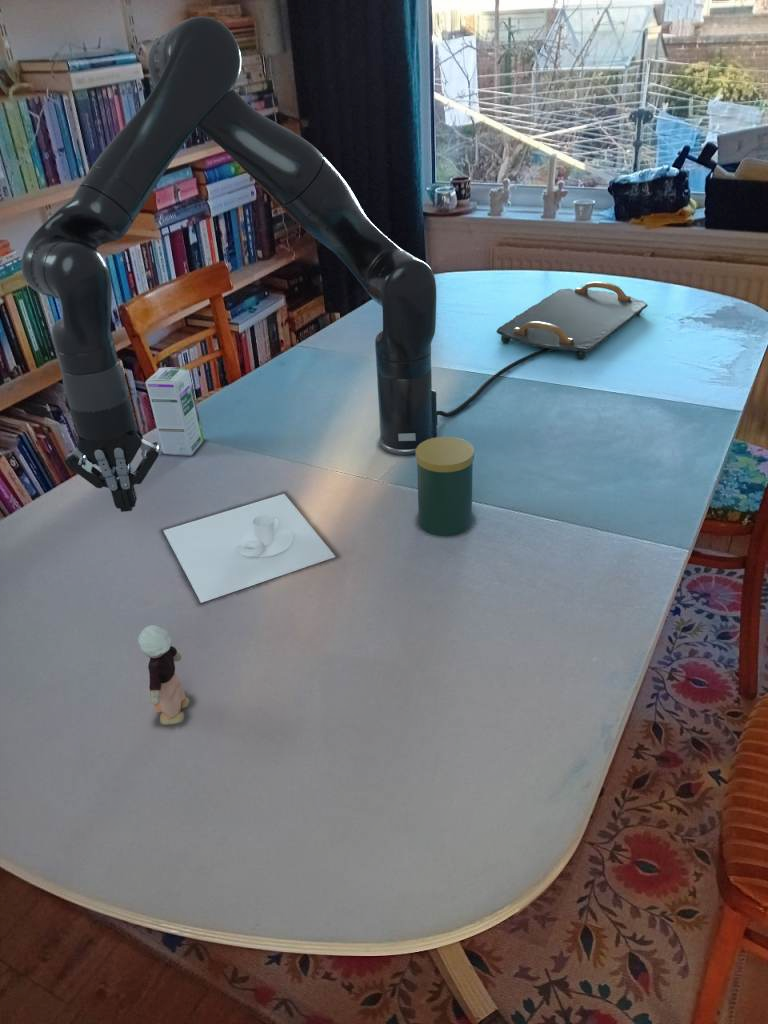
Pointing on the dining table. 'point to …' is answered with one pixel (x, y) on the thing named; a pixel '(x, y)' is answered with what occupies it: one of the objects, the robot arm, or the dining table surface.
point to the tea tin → (445, 485)
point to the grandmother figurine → (163, 675)
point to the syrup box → (175, 410)
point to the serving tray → (573, 319)
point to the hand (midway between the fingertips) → (127, 508)
